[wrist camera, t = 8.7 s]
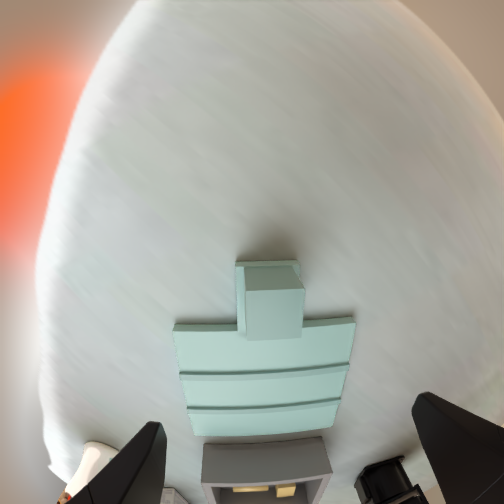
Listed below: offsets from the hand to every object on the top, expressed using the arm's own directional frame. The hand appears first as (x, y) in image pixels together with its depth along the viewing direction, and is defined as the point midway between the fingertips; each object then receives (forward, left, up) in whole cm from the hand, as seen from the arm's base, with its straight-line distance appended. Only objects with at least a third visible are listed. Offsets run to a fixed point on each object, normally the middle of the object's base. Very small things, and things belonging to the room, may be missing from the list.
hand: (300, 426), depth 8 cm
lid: (0, +6, -12) cm, 13 cm away
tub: (0, +23, -12) cm, 25 cm away
